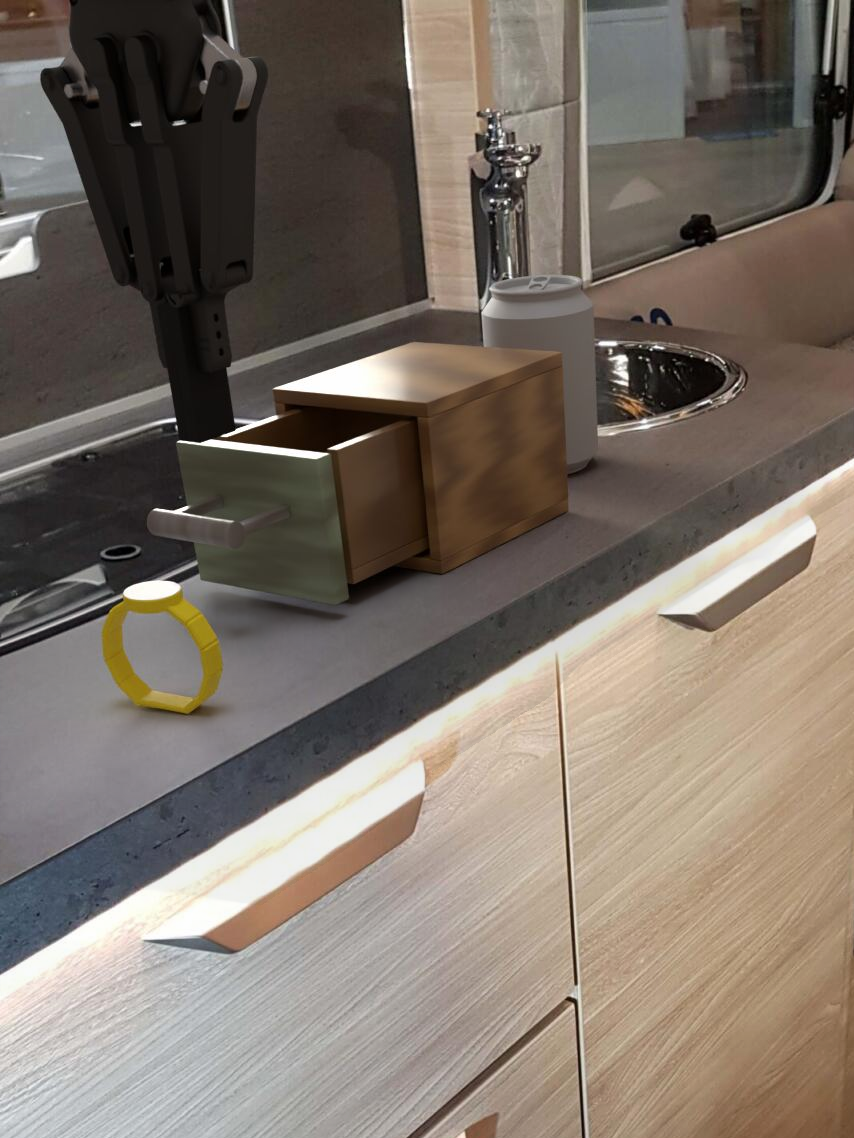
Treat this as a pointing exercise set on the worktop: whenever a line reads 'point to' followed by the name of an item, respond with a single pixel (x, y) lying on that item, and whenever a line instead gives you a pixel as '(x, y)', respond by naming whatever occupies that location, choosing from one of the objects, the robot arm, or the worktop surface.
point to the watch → (171, 600)
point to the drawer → (302, 502)
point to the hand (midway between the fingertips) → (207, 435)
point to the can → (552, 345)
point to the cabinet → (464, 436)
